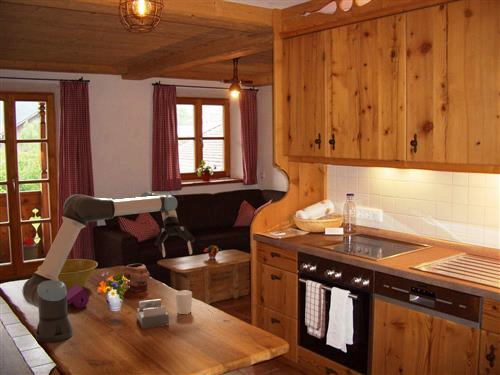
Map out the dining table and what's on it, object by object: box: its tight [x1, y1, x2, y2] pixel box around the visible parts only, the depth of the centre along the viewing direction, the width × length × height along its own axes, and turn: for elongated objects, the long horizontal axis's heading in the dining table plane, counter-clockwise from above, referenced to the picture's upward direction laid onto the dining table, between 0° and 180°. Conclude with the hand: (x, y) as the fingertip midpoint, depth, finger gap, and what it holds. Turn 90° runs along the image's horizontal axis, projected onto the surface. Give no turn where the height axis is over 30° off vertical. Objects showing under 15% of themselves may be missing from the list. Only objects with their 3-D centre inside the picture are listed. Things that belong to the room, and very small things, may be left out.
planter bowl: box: [37, 258, 99, 291], centre depth 302 cm, size 32×32×13 cm
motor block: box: [136, 298, 170, 330], centre depth 249 cm, size 14×12×8 cm
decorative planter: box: [123, 263, 151, 292], centre depth 300 cm, size 20×12×14 cm, turn 54°
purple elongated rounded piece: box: [67, 285, 90, 309], centre depth 271 cm, size 9×8×18 cm
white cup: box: [175, 289, 193, 315], centre depth 261 cm, size 8×8×10 cm
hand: (177, 254), depth 268 cm, fingers open, 13 cm apart
